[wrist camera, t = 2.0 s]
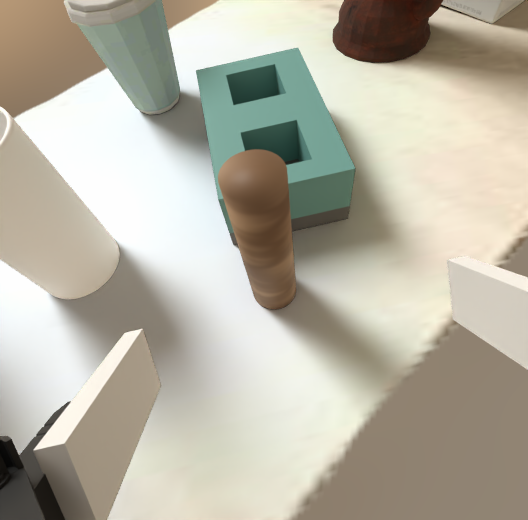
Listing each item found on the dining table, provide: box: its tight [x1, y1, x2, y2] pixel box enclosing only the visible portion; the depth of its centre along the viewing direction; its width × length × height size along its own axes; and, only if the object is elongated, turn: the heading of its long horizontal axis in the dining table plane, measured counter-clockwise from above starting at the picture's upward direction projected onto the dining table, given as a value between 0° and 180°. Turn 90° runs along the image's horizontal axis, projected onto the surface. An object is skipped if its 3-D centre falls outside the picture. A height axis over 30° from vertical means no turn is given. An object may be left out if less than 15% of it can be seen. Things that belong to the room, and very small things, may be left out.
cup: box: [0, 107, 120, 299], centre depth 30 cm, size 8×8×16 cm
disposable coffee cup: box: [64, 0, 180, 115], centre depth 44 cm, size 11×11×15 cm
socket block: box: [196, 48, 355, 245], centre depth 38 cm, size 12×20×7 cm, turn 11°
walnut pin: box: [218, 149, 296, 309], centre depth 27 cm, size 4×4×15 cm
